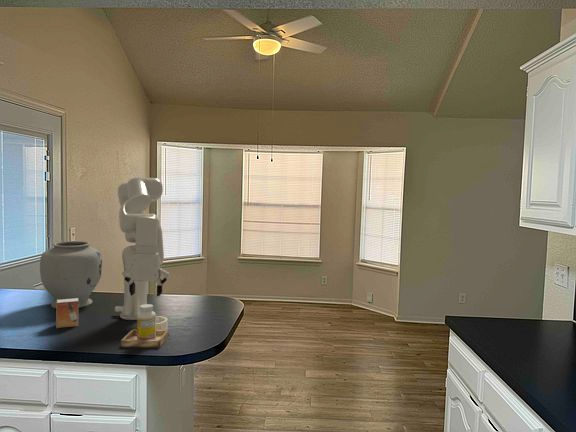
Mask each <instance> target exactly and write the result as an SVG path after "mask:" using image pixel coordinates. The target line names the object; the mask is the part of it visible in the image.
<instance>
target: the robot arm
mask: <svg viewBox="0 0 576 432" xmlns="http://www.w3.org/2000/svg"><path fill="white" fill-rule="evenodd" d="M163 188H164V186H163V184H162V181H161V180H160V179H159V178H155V177H133V178H130V179H129V180H128V181H127V182H125V183H121V184H120V185H118V188H117V197H118V202H119V205H120V208H119V212H118V220H119V221H118V222H119V227H120V231H121V232H122V233H124V237H125V240H126V241H127V243H129V244H132V245H128V246H126V247H124V248H123V250H122V251H121V258H122V267H123V271H122V272H121V275H122V277H123V282H124V283H123V285H124V286H123V287H124V288H123V289H124V290H123V291H124V292H123V293H124V295H123V297H124V298H123V300H124V301H123V305H122V306H120V305H119V306H115V307H114V311H115V312H117V313H119V312H121V313H120V314H119V315H120V318H121V319H122V320H127V321H137V315H138V313H139V312H140V311H141V310H140V306H141V305H144V304H148V301H147V300H148V282H155V283H156V284H157V285H156V297H160V296H161V295H162V294H163V284H165V283H166V282H167V280H168V279H169V277H170V276H171V274H170V272H168V271H167V270H165V269H162V266H161V265H163V264H164V260H165V255H164V254H165V251H164V238H163V230H162V225H160V218H159V217H158V215H156V214H155V213H144V211H146V210H148V209H149V208H150V206H151V204H152V202H153V203H154V202H158V201H159V199H161V198H162V195H163V190H164V189H163ZM133 244H135V245H133ZM161 275H163V276H164V278H163V279H162V278H161Z"/></svg>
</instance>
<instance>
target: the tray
mask: <svg viewBox="0 0 576 432" xmlns="http://www.w3.org/2000/svg"><path fill="white" fill-rule="evenodd" d="M169 336H170V330H169V329H167V330H156V338H155V339H154V340H137V328H136V329H135V328H134V329H131V330H130V331H129V332H128V333H127V334H126V335H125V336H124V337H123V338H122V339H121V340H120V348H159V349H160V348H161V347H162V346H163V345H164V343H165V342H166V340H167V339H168V338H169Z"/></svg>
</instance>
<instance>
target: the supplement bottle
mask: <svg viewBox="0 0 576 432" xmlns="http://www.w3.org/2000/svg"><path fill="white" fill-rule="evenodd" d="M140 310H141V311H140V312H139V313H138V315H137V320H136V329H137V340H154V339H155V338H156V316H157V314H156V312H155V311H154V305H153V304H150V303H147V304H144V305H141V306H140Z"/></svg>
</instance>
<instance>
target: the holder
mask: <svg viewBox="0 0 576 432" xmlns="http://www.w3.org/2000/svg"><path fill="white" fill-rule="evenodd" d="M156 330H169V319H168V318H167V317H166V316H160V315H156Z"/></svg>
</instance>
